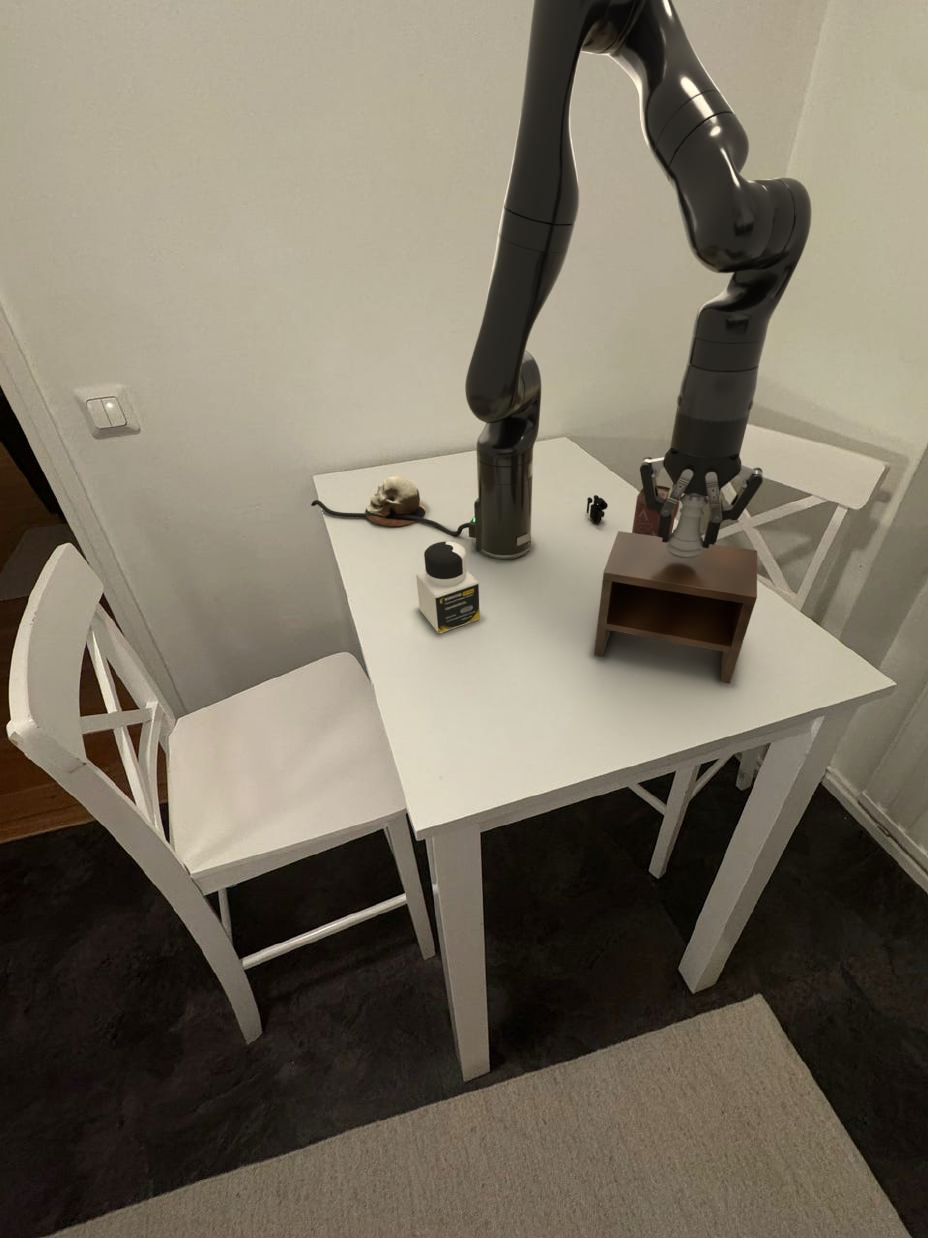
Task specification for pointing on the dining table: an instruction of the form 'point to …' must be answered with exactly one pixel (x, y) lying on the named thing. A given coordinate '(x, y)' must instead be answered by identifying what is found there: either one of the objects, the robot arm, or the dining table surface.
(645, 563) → the shelf
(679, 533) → the rook chess piece
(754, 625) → the dining table surface
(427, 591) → the medicine bottle
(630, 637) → the dining table surface
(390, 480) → the skull
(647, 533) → the can
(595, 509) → the wireless earbuds
